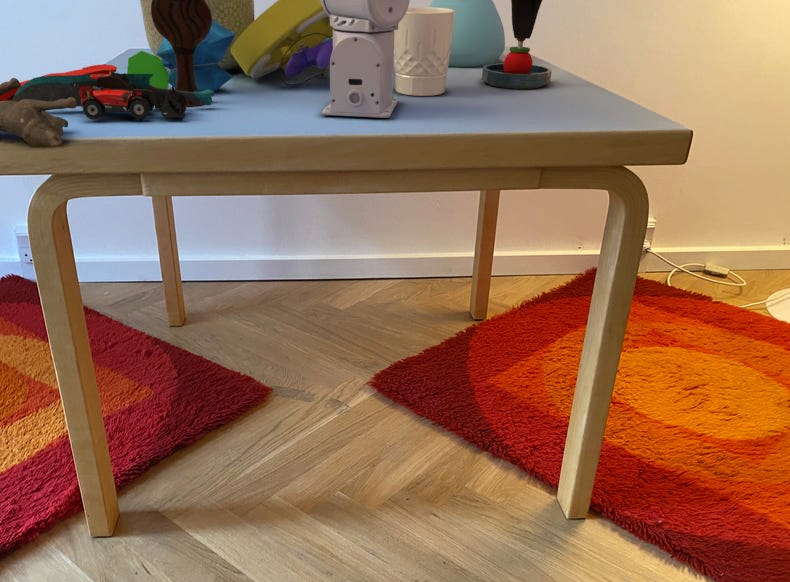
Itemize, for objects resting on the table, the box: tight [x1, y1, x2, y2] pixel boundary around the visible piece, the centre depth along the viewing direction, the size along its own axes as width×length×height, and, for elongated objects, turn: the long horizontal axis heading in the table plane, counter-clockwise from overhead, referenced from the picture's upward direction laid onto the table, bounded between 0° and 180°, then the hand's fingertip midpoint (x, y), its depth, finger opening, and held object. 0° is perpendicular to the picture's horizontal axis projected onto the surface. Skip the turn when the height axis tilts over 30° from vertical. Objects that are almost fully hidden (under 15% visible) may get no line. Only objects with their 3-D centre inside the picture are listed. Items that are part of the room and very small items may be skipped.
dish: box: [481, 62, 553, 90], centre depth 101 cm, size 10×10×2 cm
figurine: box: [151, 0, 212, 108], centre depth 84 cm, size 7×5×18 cm
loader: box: [73, 72, 187, 121], centre depth 80 cm, size 12×5×5 cm, turn 94°
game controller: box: [279, 33, 333, 87], centre depth 97 cm, size 10×8×10 cm
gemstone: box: [126, 50, 170, 89], centre depth 92 cm, size 6×6×6 cm
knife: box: [12, 74, 215, 107], centre depth 83 cm, size 24×1×5 cm, turn 97°
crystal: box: [156, 20, 236, 92], centre depth 93 cm, size 7×9×12 cm
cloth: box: [0, 64, 118, 102], centre depth 92 cm, size 26×14×2 cm, turn 175°
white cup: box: [393, 6, 455, 97], centre depth 93 cm, size 8×8×10 cm
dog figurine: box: [0, 77, 78, 148], centre depth 72 cm, size 12×6×7 cm
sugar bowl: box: [428, 0, 506, 68], centre depth 115 cm, size 15×15×12 cm
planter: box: [139, 0, 256, 72], centre depth 105 cm, size 17×17×15 cm
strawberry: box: [503, 38, 533, 74], centre depth 98 cm, size 4×4×11 cm
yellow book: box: [231, 0, 334, 79], centre depth 100 cm, size 16×21×5 cm
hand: (521, 34), depth 98 cm, fingers open, 7 cm apart
